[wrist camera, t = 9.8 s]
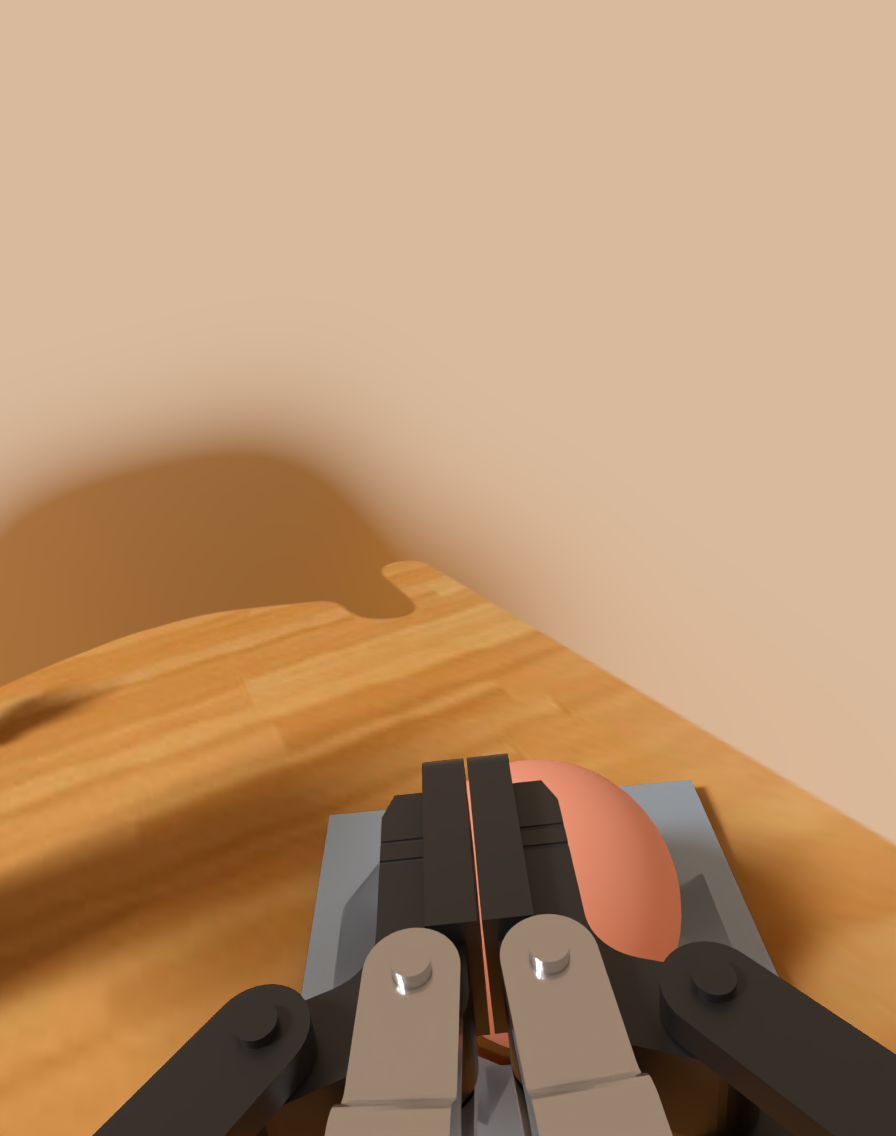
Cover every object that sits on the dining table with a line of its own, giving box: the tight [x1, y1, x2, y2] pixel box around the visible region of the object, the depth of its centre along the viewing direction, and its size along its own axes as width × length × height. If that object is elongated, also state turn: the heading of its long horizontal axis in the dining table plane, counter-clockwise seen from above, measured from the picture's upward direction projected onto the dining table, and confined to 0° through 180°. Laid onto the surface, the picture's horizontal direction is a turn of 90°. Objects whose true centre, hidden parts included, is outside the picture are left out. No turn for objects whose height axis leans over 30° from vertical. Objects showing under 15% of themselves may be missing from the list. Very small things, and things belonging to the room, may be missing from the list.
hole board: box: [301, 780, 778, 1136], centre depth 41 cm, size 24×22×1 cm
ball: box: [466, 759, 682, 1048], centre depth 38 cm, size 12×12×12 cm
